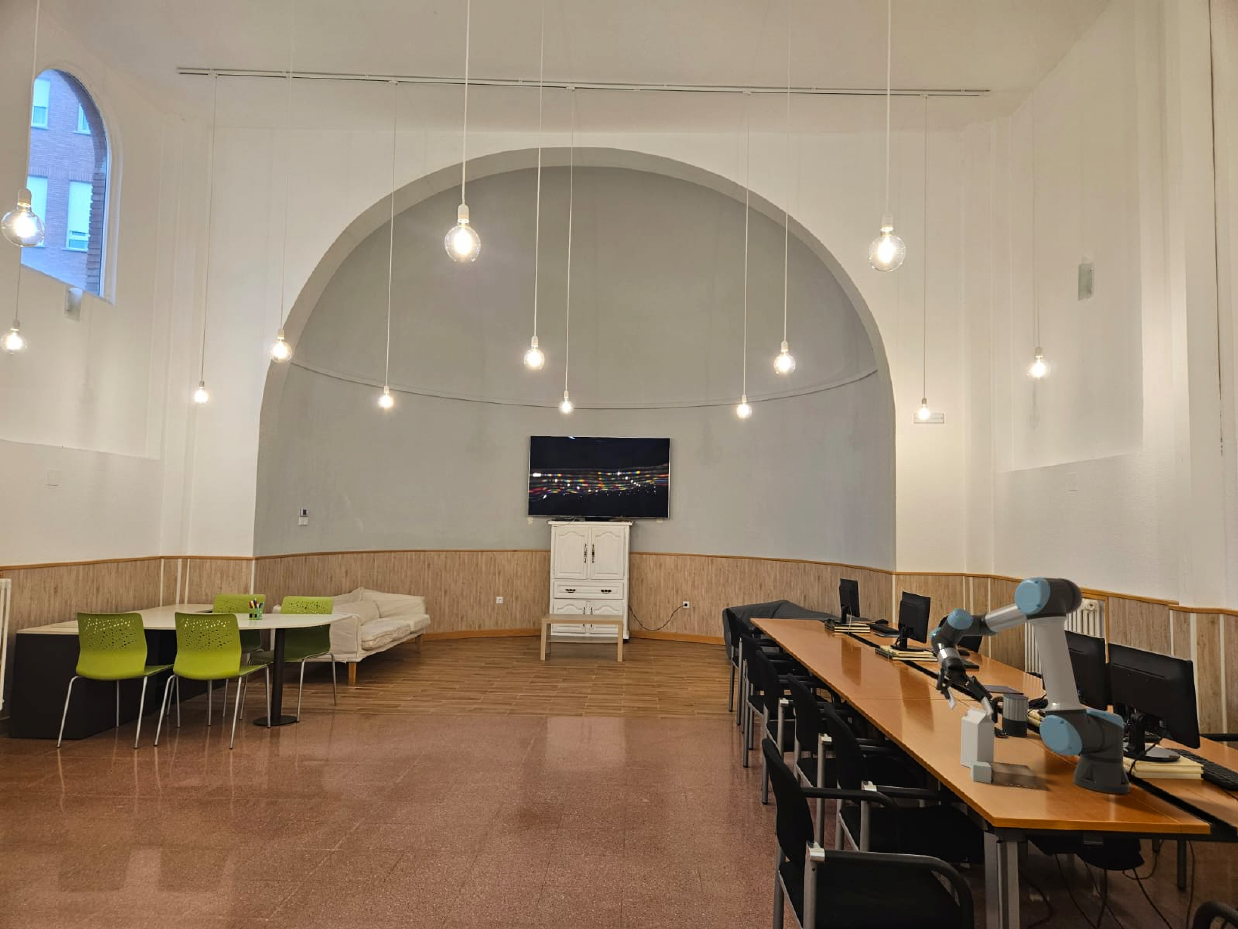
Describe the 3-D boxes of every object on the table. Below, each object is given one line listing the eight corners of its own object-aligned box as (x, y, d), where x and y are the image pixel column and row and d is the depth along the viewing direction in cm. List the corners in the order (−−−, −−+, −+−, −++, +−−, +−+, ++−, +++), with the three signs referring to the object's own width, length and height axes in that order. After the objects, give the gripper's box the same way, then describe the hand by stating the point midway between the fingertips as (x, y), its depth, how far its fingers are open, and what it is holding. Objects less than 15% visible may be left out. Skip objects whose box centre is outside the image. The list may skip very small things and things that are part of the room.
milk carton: (976, 771, 267) (978, 711, 268) (960, 764, 273) (961, 706, 275) (993, 769, 269) (994, 710, 271) (976, 763, 276) (978, 705, 277)
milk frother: (1029, 734, 322) (1030, 695, 323) (1025, 742, 308) (1026, 702, 309) (989, 728, 329) (990, 690, 330) (984, 736, 316) (985, 696, 317)
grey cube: (987, 779, 259) (987, 762, 259) (990, 783, 254) (990, 767, 255) (970, 777, 260) (970, 760, 261) (973, 781, 255) (973, 765, 256)
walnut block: (1026, 778, 263) (1027, 765, 263) (1036, 789, 252) (1036, 776, 252) (986, 773, 266) (986, 761, 266) (993, 784, 254) (994, 771, 255)
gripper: (977, 678, 299) (999, 725, 281) (915, 664, 296) (933, 710, 278) (988, 664, 296) (1011, 710, 278) (924, 649, 292) (943, 695, 274)
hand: (972, 710), depth 278 cm, fingers open, 13 cm apart
